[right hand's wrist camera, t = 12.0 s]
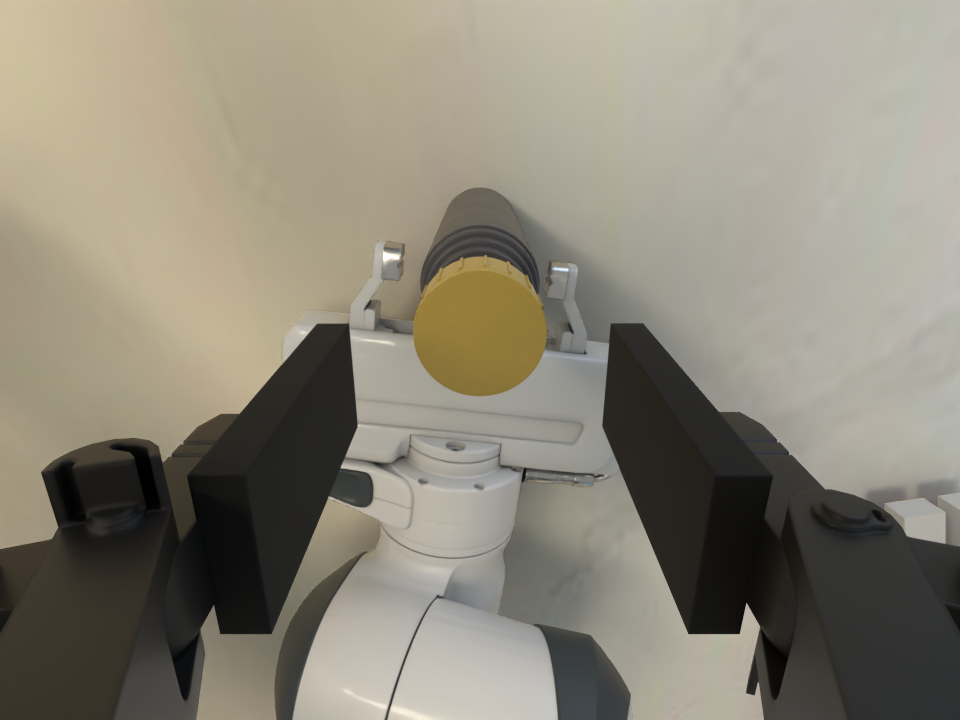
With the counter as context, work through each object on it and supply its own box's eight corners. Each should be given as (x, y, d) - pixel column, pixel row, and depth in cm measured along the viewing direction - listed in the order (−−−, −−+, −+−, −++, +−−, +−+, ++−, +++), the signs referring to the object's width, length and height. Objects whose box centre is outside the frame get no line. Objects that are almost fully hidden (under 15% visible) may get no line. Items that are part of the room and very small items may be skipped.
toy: (1116, 534, 34) (1085, 915, 41) (946, 448, 47) (943, 748, 54) (903, 562, 35) (907, 932, 42) (793, 470, 48) (809, 762, 55)
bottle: (531, 222, 37) (590, 326, 17) (482, 275, 38) (485, 429, 18) (477, 171, 36) (473, 219, 16) (429, 228, 37) (370, 337, 17)
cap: (567, 311, 19) (577, 331, 17) (484, 396, 20) (485, 423, 18) (475, 227, 18) (474, 238, 16) (393, 321, 19) (383, 341, 17)
